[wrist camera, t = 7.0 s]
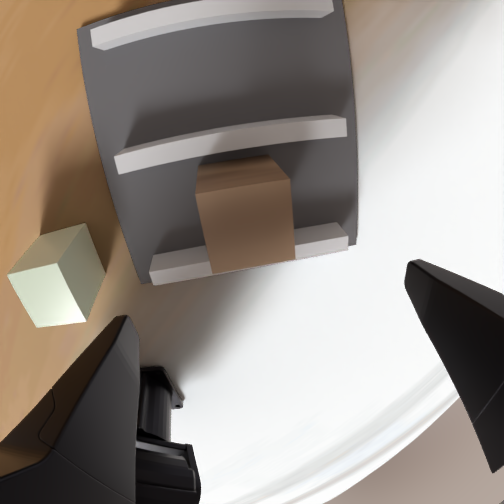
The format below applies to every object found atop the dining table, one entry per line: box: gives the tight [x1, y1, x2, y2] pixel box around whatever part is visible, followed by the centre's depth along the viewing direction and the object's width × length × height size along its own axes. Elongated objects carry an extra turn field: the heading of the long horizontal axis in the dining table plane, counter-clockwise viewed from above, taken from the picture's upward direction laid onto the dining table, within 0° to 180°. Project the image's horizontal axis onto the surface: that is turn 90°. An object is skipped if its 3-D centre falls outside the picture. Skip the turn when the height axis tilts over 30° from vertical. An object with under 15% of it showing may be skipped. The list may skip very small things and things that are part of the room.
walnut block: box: [195, 155, 296, 274], centre depth 16 cm, size 4×4×5 cm
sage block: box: [7, 223, 106, 328], centre depth 17 cm, size 4×4×5 cm
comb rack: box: [77, 0, 357, 286], centre depth 16 cm, size 17×15×2 cm
